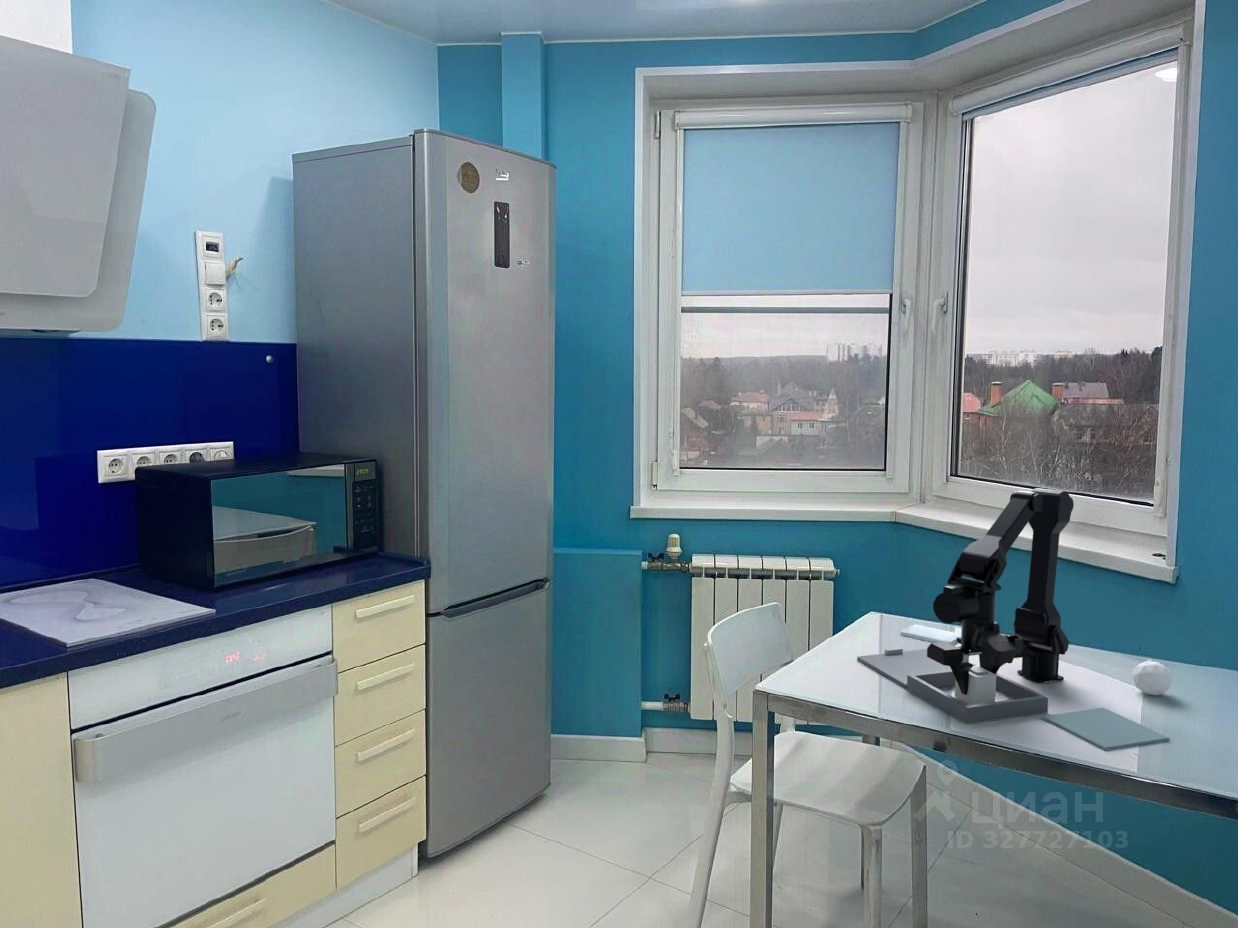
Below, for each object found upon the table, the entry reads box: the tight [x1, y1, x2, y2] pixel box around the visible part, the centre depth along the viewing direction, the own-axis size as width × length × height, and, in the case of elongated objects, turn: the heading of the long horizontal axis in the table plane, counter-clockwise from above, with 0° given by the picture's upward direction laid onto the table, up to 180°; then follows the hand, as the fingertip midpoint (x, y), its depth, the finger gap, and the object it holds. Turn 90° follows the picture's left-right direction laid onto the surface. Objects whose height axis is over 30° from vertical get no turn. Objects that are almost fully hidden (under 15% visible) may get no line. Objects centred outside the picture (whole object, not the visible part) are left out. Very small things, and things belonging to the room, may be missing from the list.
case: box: [856, 647, 1049, 725], centre depth 175 cm, size 18×36×3 cm, turn 16°
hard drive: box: [900, 623, 961, 646], centre depth 207 cm, size 2×8×12 cm
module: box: [954, 664, 997, 705], centre depth 166 cm, size 4×6×6 cm
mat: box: [1042, 707, 1170, 751], centre depth 152 cm, size 14×14×1 cm
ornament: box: [1132, 658, 1172, 696], centre depth 169 cm, size 6×7×7 cm
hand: (974, 692), depth 166 cm, fingers closed on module, 4 cm apart
